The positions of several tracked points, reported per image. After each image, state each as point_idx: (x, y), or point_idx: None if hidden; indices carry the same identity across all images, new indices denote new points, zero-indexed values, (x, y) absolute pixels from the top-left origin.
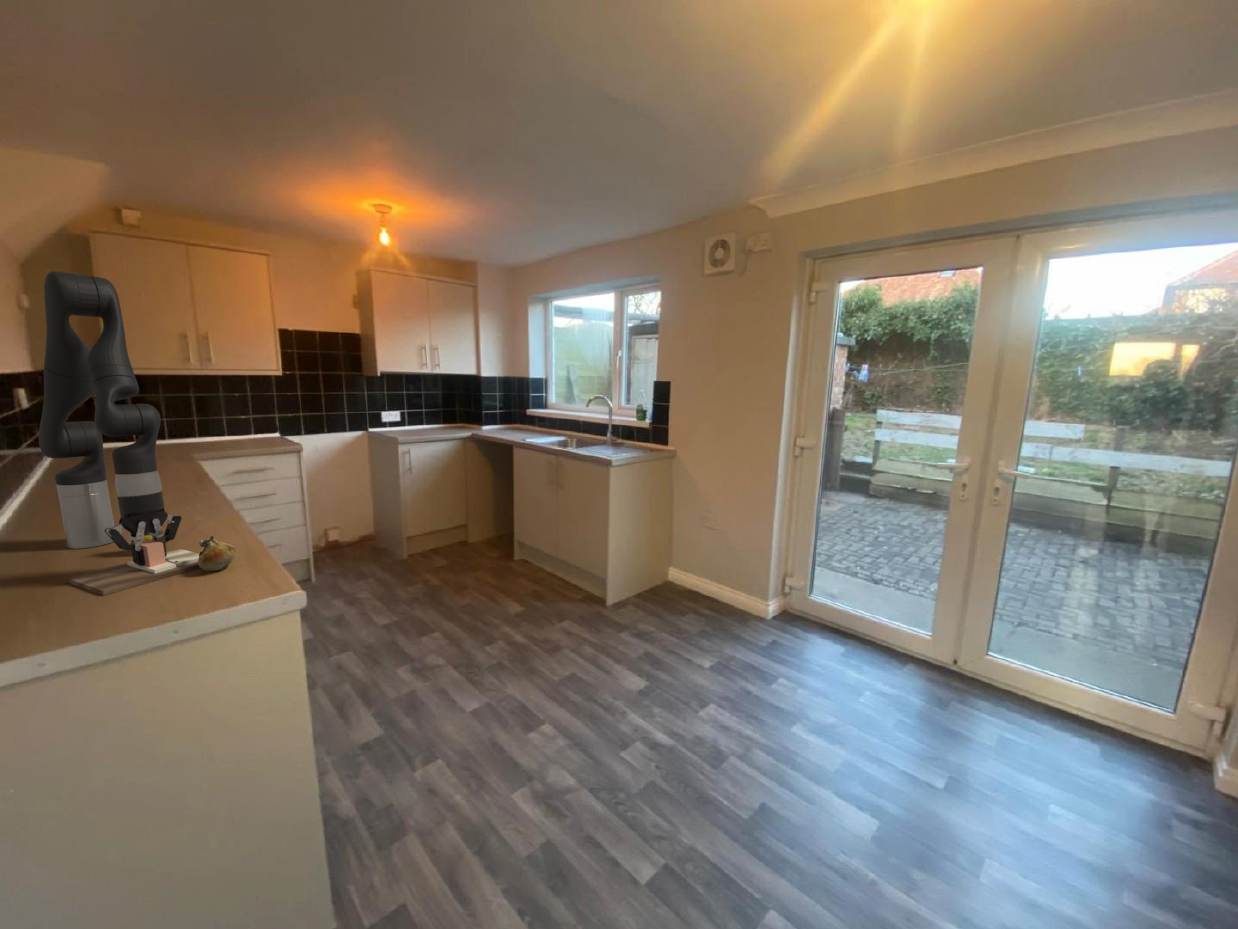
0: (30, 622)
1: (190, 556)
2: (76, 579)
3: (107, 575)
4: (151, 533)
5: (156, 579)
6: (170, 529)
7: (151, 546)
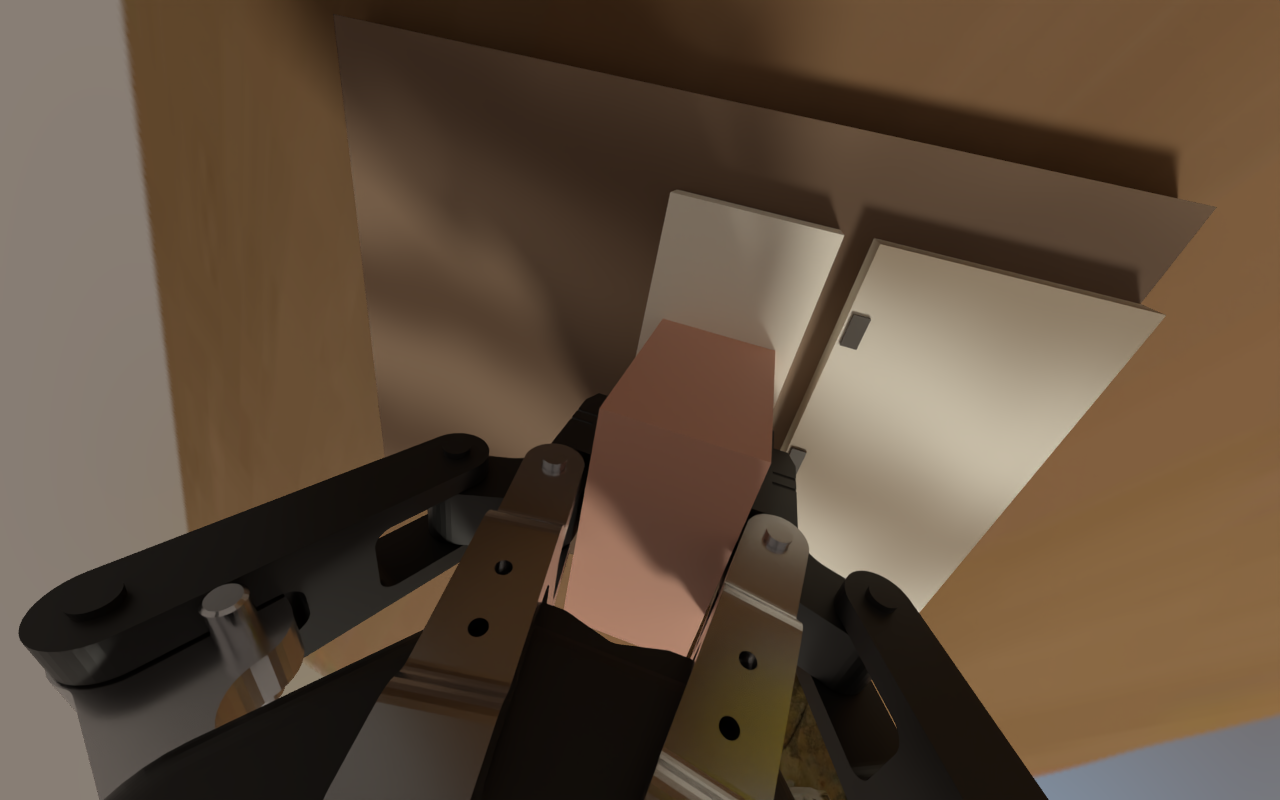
0: (214, 445)
1: (870, 566)
2: (364, 144)
3: (489, 285)
4: (701, 637)
5: None
6: (861, 784)
7: (595, 625)
